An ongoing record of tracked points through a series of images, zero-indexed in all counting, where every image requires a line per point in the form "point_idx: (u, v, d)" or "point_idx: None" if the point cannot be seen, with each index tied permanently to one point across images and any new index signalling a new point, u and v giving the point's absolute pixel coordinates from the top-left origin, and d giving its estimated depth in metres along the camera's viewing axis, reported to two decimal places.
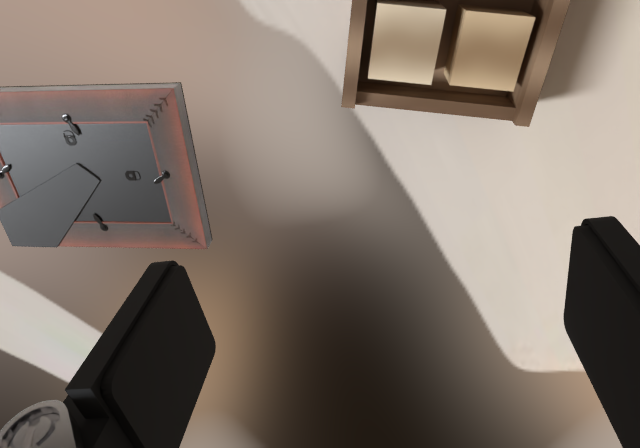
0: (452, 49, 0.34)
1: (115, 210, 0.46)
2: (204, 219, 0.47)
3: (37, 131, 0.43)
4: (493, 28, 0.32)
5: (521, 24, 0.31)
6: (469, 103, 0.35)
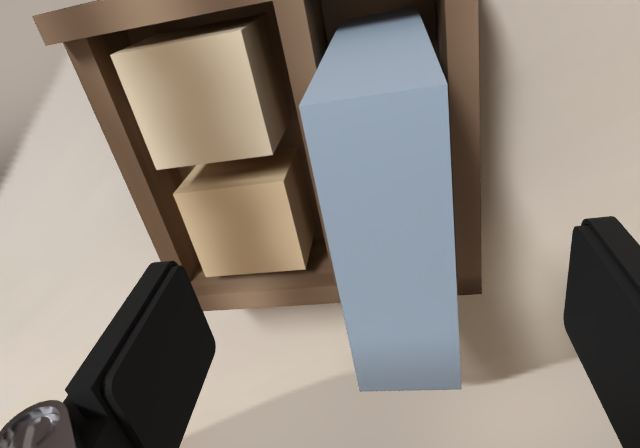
0: (230, 169, 0.21)
1: None
2: None
3: None
4: (273, 224, 0.20)
5: (290, 257, 0.21)
6: (165, 226, 0.22)
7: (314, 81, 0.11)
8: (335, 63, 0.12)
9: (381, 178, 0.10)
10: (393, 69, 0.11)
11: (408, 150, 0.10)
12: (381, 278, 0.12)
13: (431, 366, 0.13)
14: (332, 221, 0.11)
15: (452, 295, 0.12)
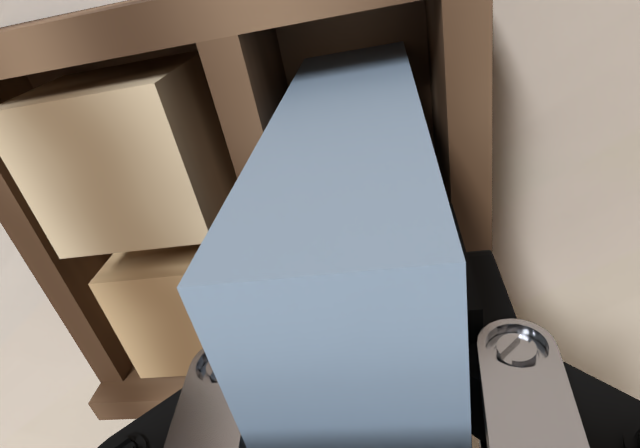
0: None
1: None
2: None
3: None
4: None
5: None
6: (86, 317, 0.17)
7: (229, 204, 0.07)
8: (274, 156, 0.08)
9: (342, 397, 0.06)
10: (363, 190, 0.06)
11: (390, 361, 0.05)
12: None
13: None
14: None
15: None
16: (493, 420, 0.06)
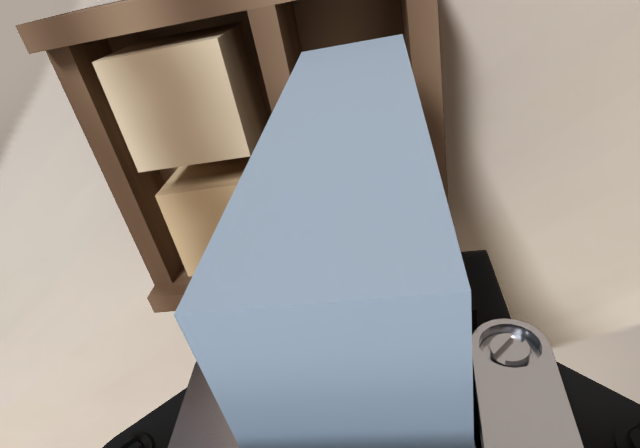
0: (211, 171, 0.22)
1: None
2: None
3: None
4: None
5: None
6: (148, 227, 0.22)
7: (226, 218, 0.06)
8: (272, 164, 0.08)
9: (344, 417, 0.06)
10: (363, 205, 0.06)
11: (392, 384, 0.05)
12: None
13: None
14: None
15: None
16: (485, 420, 0.06)
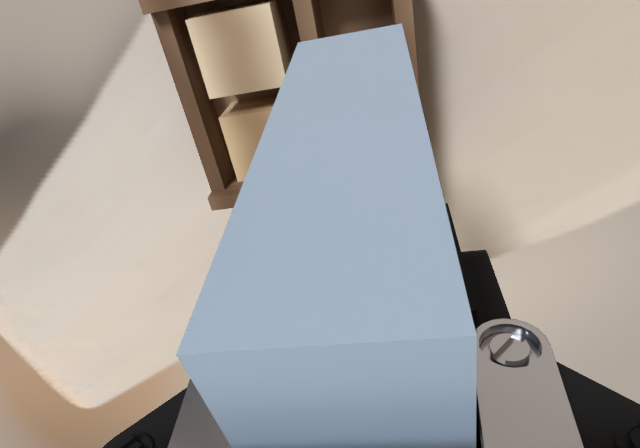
0: (255, 104, 0.31)
1: None
2: None
3: None
4: None
5: None
6: (210, 144, 0.32)
7: (226, 242, 0.06)
8: (271, 178, 0.07)
9: (347, 444, 0.06)
10: (366, 230, 0.06)
11: (396, 416, 0.05)
12: None
13: None
14: None
15: None
16: (485, 420, 0.06)
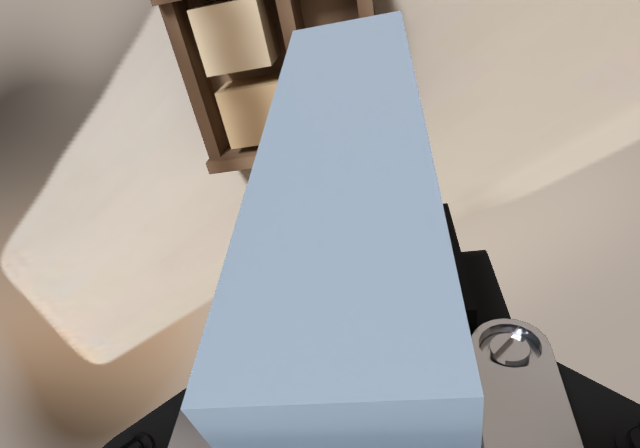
0: (246, 82, 0.37)
1: None
2: None
3: None
4: None
5: None
6: (208, 117, 0.37)
7: (226, 276, 0.06)
8: (270, 199, 0.07)
9: None
10: (369, 267, 0.06)
11: None
12: None
13: None
14: None
15: None
16: (485, 420, 0.06)
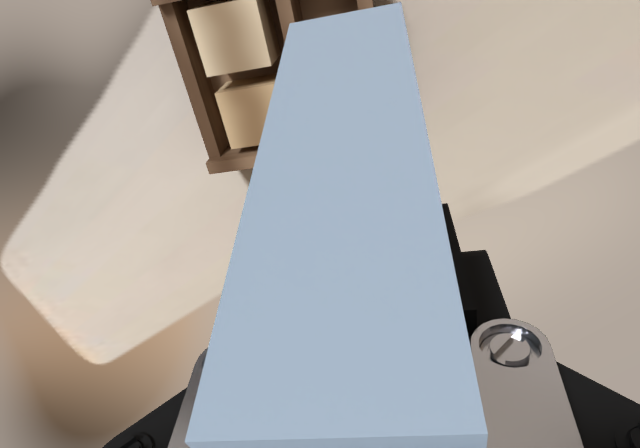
0: (246, 82, 0.37)
1: None
2: None
3: None
4: None
5: None
6: (208, 117, 0.37)
7: (227, 297, 0.06)
8: (270, 213, 0.07)
9: None
10: (371, 290, 0.06)
11: None
12: None
13: None
14: None
15: None
16: (485, 420, 0.06)
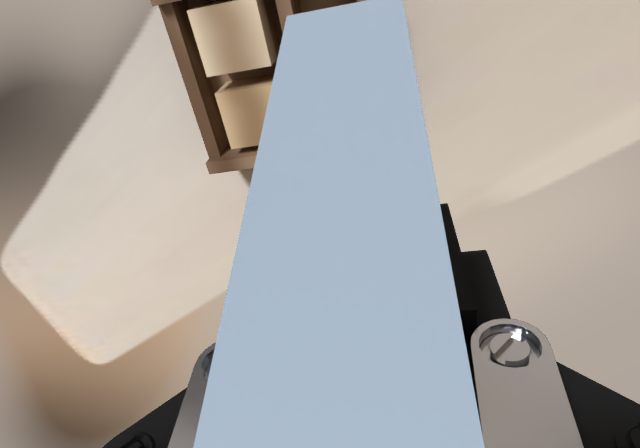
0: (246, 82, 0.37)
1: None
2: None
3: None
4: None
5: None
6: (208, 117, 0.37)
7: (227, 319, 0.06)
8: (269, 228, 0.07)
9: None
10: (372, 314, 0.06)
11: None
12: None
13: None
14: None
15: None
16: (485, 420, 0.06)
